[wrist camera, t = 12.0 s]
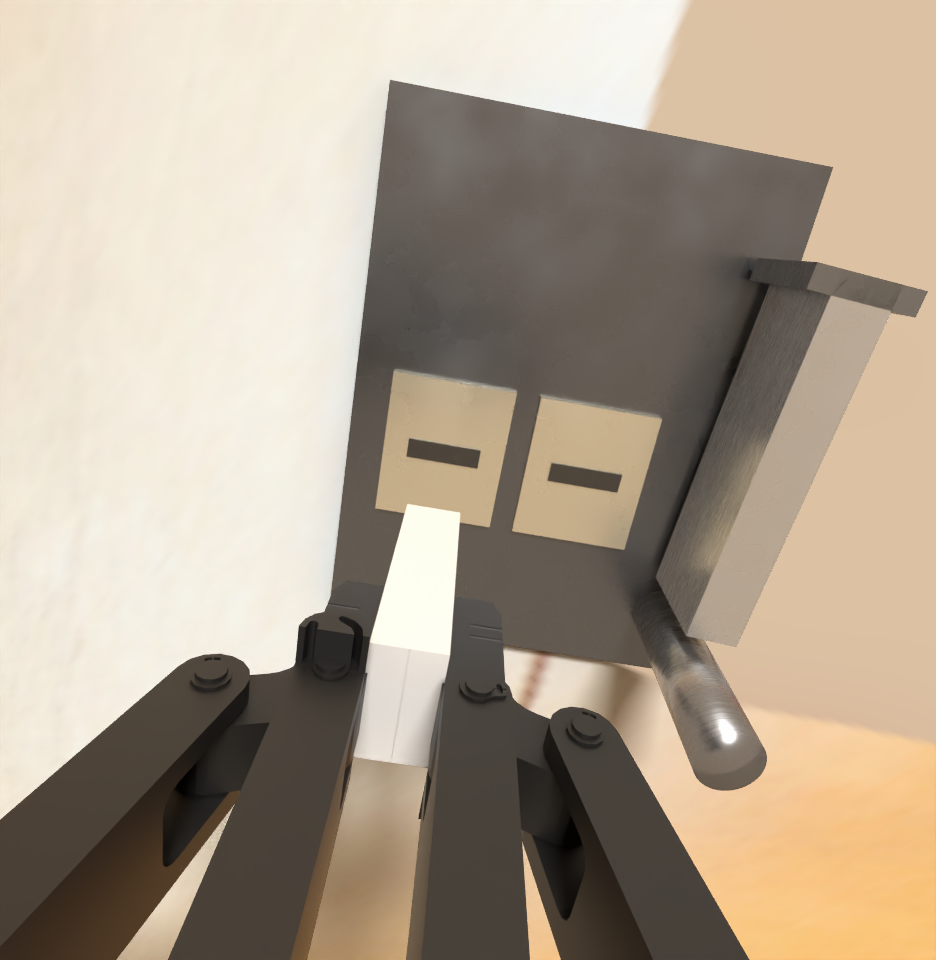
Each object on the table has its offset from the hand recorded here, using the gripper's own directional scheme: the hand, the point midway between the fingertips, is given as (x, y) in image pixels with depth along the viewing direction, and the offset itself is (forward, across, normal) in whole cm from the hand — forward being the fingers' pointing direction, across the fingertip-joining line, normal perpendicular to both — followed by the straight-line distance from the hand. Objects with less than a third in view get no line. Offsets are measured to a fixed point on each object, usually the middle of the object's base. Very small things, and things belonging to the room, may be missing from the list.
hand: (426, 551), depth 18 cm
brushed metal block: (+9, +12, +3) cm, 15 cm away
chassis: (+10, +4, +2) cm, 11 cm away
